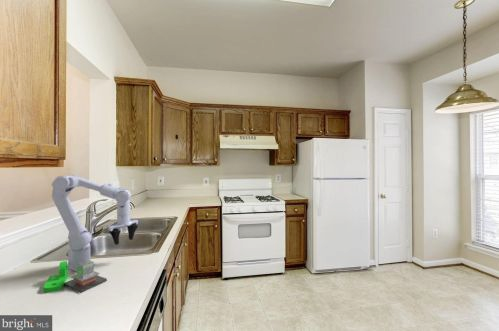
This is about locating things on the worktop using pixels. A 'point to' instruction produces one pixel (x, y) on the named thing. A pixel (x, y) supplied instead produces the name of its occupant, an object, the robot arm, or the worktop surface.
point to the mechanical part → (57, 279)
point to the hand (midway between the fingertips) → (123, 241)
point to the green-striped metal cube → (85, 268)
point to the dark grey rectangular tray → (85, 282)
